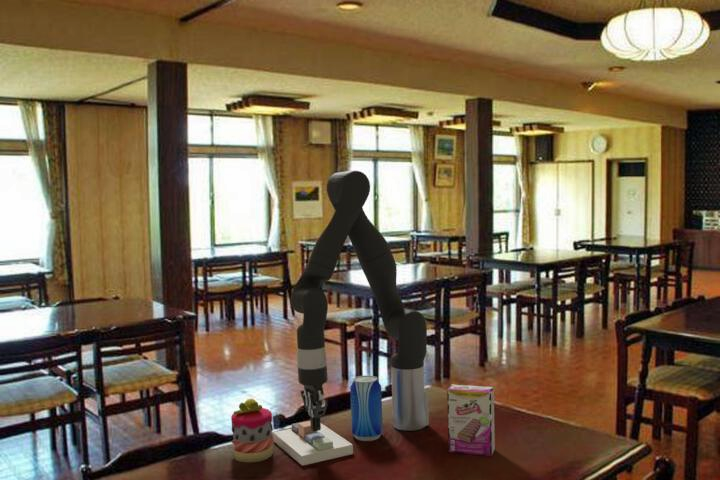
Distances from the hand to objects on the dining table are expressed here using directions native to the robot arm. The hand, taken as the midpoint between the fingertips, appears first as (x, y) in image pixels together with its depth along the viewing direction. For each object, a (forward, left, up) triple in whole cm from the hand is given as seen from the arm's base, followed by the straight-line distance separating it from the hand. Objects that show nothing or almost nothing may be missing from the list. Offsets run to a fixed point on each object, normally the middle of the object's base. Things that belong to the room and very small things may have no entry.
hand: (315, 429), depth 176 cm
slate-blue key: (0, 0, -5) cm, 5 cm away
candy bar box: (-33, +23, -6) cm, 40 cm away
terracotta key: (0, -5, -4) cm, 6 cm away
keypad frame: (0, -2, -5) cm, 6 cm away
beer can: (-16, -1, -6) cm, 17 cm away
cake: (+15, -6, -6) cm, 17 cm away
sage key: (0, +5, -5) cm, 7 cm away
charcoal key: (0, -10, -5) cm, 11 cm away
